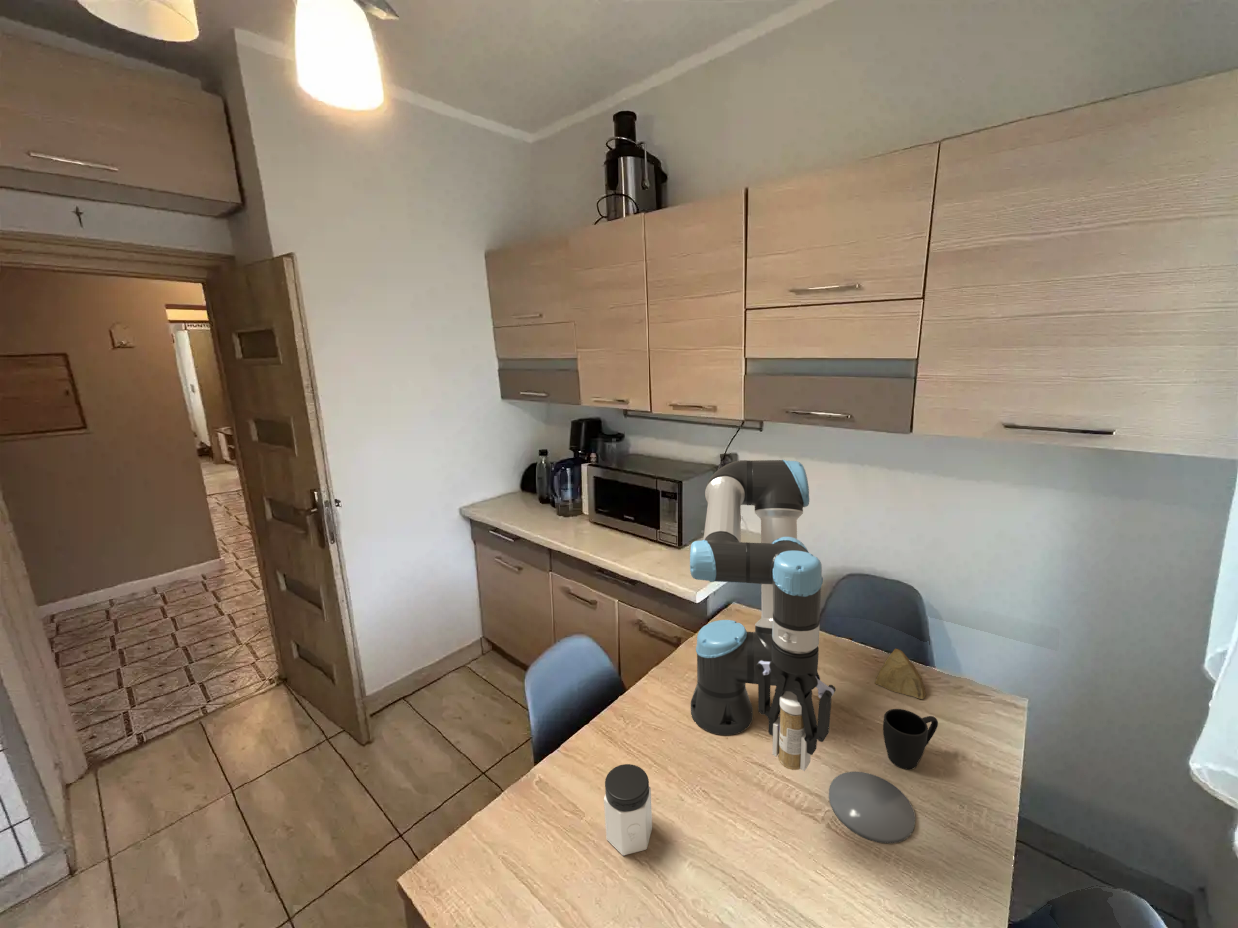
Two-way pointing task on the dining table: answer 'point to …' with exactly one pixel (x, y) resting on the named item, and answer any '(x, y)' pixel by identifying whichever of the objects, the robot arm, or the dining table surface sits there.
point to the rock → (901, 676)
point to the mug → (906, 736)
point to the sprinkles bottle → (790, 731)
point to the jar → (628, 808)
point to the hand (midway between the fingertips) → (791, 757)
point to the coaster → (871, 807)
